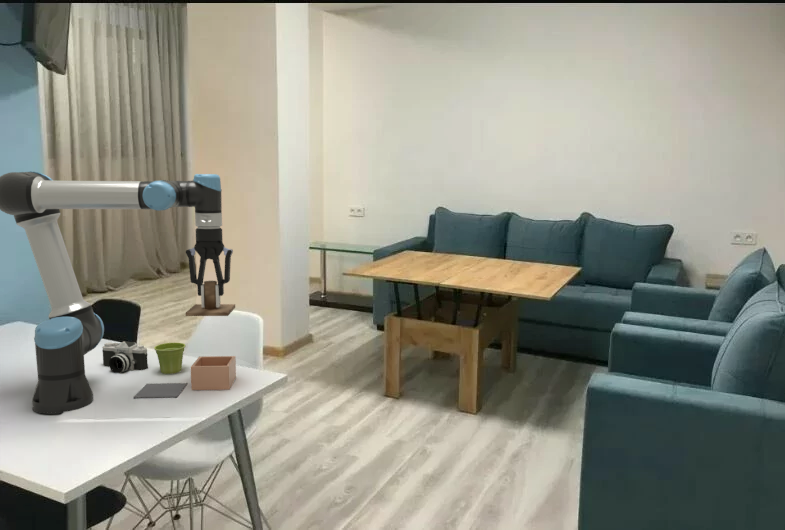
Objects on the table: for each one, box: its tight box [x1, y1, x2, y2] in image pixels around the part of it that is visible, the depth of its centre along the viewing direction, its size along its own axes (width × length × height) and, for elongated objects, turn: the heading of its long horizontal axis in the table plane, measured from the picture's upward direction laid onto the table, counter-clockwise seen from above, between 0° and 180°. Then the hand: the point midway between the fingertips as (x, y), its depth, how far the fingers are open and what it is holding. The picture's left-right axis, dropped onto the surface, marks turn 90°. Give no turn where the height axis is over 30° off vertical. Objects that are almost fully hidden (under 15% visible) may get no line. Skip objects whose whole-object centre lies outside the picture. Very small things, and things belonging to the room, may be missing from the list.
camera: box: [101, 340, 149, 374], centre depth 215 cm, size 16×9×10 cm, turn 75°
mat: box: [133, 382, 188, 399], centre depth 196 cm, size 12×12×1 cm
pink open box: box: [190, 355, 237, 391], centre depth 202 cm, size 11×11×7 cm
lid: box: [185, 280, 236, 317], centre depth 199 cm, size 12×12×9 cm
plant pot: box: [153, 342, 186, 375], centre depth 213 cm, size 9×9×9 cm
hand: (211, 306), depth 200 cm, fingers closed on lid, 3 cm apart
